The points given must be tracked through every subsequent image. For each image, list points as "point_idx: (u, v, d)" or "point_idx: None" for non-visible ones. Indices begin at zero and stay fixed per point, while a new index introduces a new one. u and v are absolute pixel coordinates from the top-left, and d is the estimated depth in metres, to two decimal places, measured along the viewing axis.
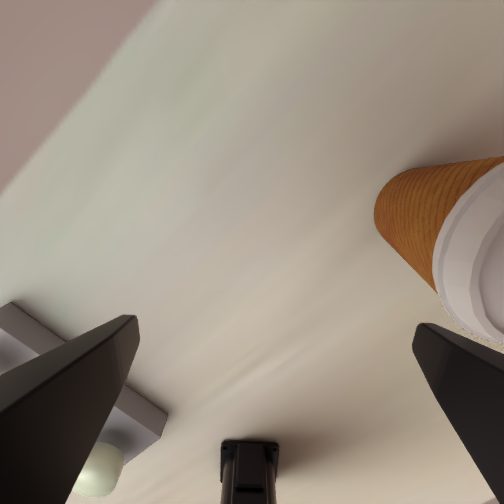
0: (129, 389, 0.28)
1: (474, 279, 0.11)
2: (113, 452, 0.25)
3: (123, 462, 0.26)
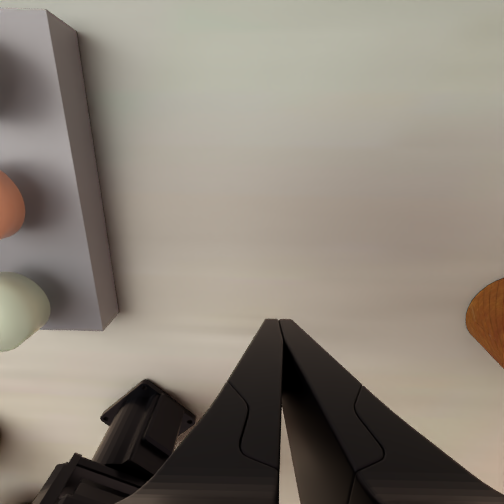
0: (108, 254, 0.20)
1: None
2: (44, 307, 0.17)
3: (40, 327, 0.18)
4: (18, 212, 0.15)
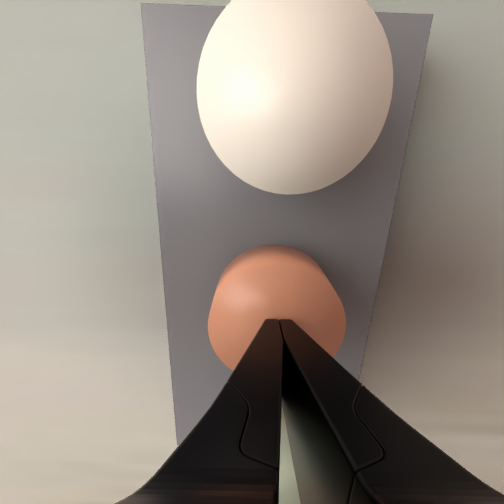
0: None
1: None
2: None
3: None
4: None
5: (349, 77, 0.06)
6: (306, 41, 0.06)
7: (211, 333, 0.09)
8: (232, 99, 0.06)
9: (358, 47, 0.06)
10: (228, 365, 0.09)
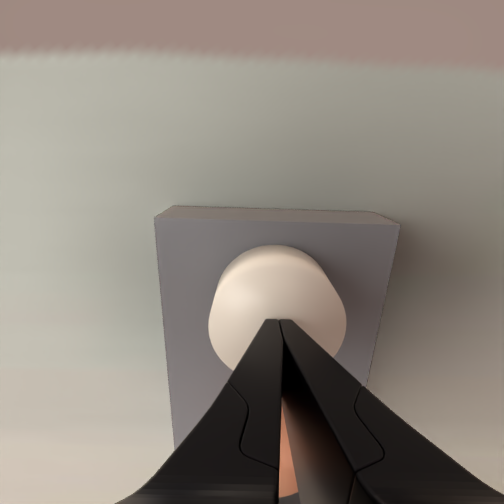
0: None
1: None
2: None
3: None
4: None
5: (315, 319, 0.09)
6: (284, 300, 0.08)
7: None
8: (233, 331, 0.09)
9: (321, 304, 0.08)
10: None
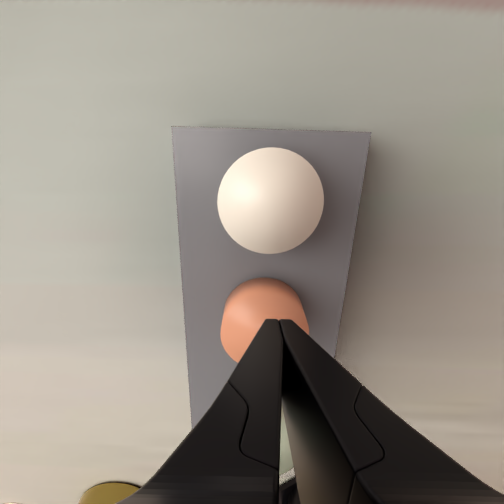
0: None
1: None
2: None
3: None
4: None
5: (299, 195, 0.11)
6: (276, 178, 0.11)
7: (222, 337, 0.14)
8: (236, 206, 0.11)
9: (304, 181, 0.11)
10: (233, 358, 0.14)
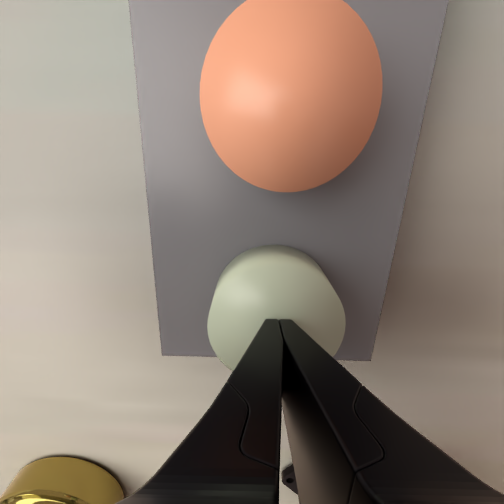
0: None
1: None
2: None
3: None
4: None
5: None
6: None
7: (204, 108, 0.07)
8: None
9: None
10: (226, 165, 0.07)
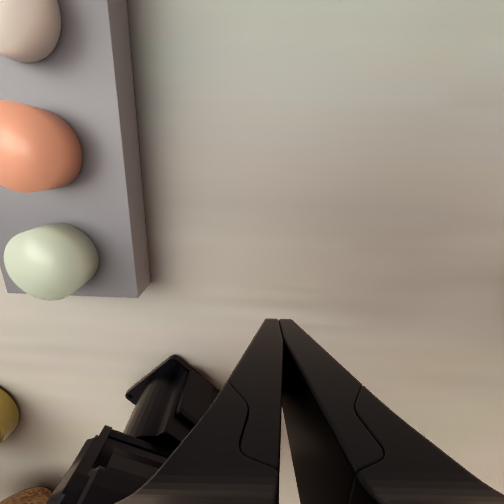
0: (143, 218, 0.20)
1: None
2: (94, 259, 0.17)
3: (88, 280, 0.18)
4: (77, 160, 0.16)
5: None
6: None
7: None
8: None
9: None
10: None
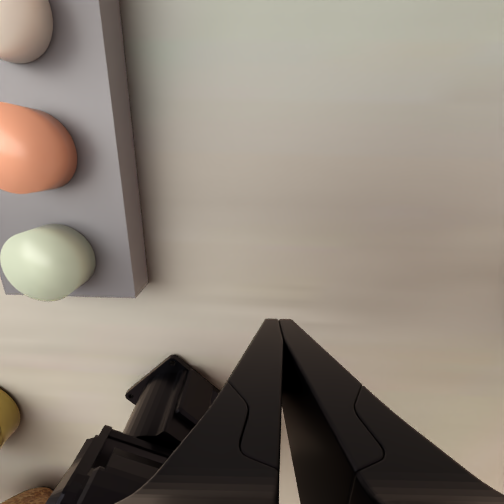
0: (140, 218, 0.20)
1: None
2: (91, 260, 0.17)
3: (85, 281, 0.18)
4: (72, 160, 0.15)
5: None
6: None
7: None
8: None
9: None
10: None
